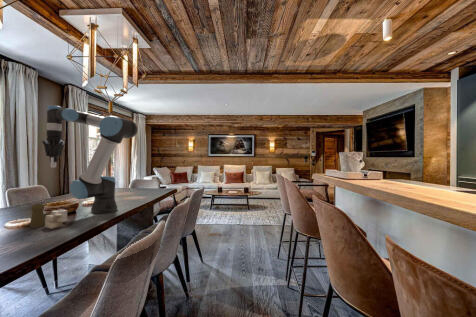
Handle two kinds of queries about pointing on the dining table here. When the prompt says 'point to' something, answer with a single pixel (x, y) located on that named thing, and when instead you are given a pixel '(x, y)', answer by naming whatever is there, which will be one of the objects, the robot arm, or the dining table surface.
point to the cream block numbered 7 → (61, 213)
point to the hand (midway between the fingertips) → (53, 167)
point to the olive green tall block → (37, 216)
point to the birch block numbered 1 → (53, 220)
